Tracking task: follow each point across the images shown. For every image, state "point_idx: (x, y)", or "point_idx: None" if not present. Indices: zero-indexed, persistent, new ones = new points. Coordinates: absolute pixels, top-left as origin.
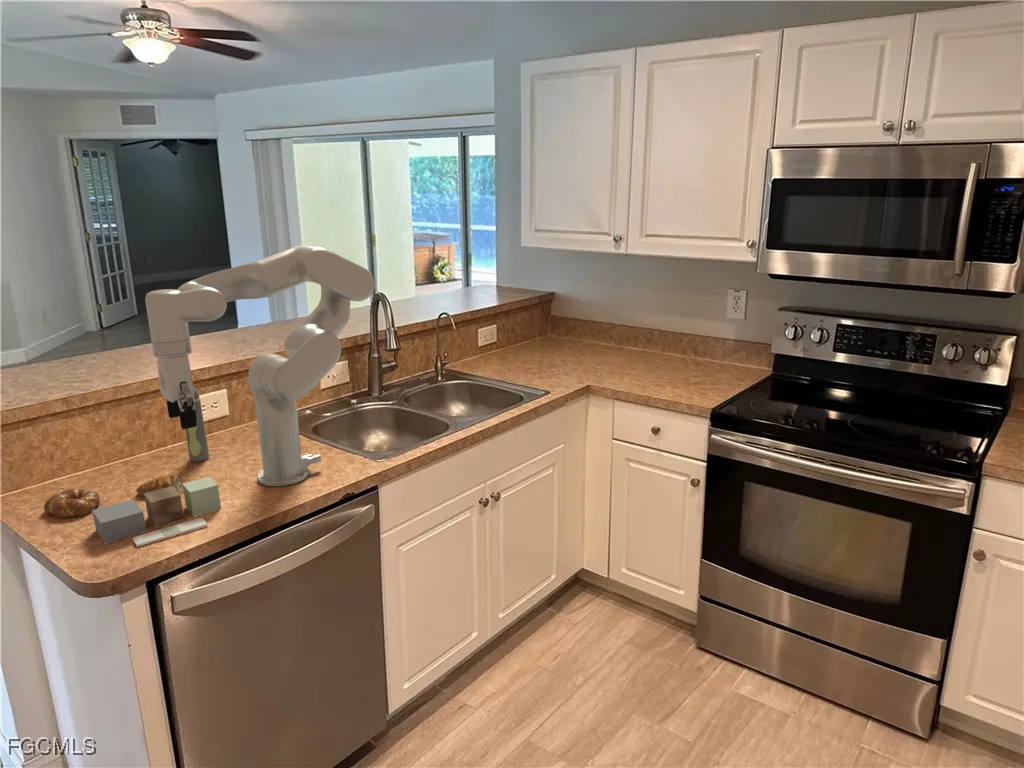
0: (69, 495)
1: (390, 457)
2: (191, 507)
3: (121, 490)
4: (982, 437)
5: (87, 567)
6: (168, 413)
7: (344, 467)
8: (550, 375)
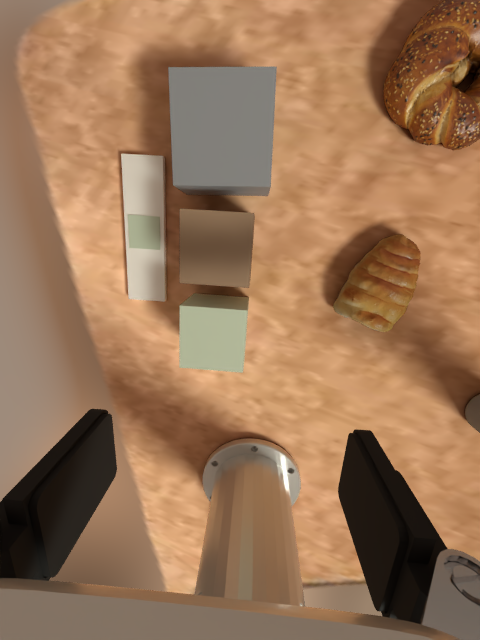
0: None
1: None
2: (196, 297)
3: (462, 214)
4: None
5: (94, 35)
6: (375, 446)
7: None
8: None
